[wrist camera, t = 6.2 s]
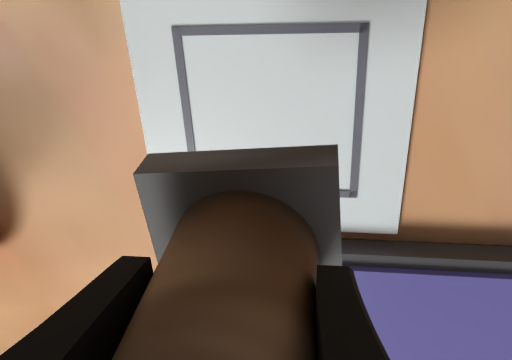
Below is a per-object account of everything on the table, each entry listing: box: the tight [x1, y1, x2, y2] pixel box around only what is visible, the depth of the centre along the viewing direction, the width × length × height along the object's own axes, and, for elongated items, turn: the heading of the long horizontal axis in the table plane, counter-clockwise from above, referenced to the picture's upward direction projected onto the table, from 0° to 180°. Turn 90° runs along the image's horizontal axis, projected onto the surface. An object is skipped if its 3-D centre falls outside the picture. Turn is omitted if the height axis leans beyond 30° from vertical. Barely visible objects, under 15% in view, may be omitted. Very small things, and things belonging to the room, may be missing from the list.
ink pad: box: [341, 239, 512, 360], centre depth 20 cm, size 10×7×1 cm
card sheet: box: [119, 0, 427, 234], centre depth 17 cm, size 10×10×1 cm
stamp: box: [112, 144, 342, 360], centre depth 9 cm, size 4×4×6 cm
